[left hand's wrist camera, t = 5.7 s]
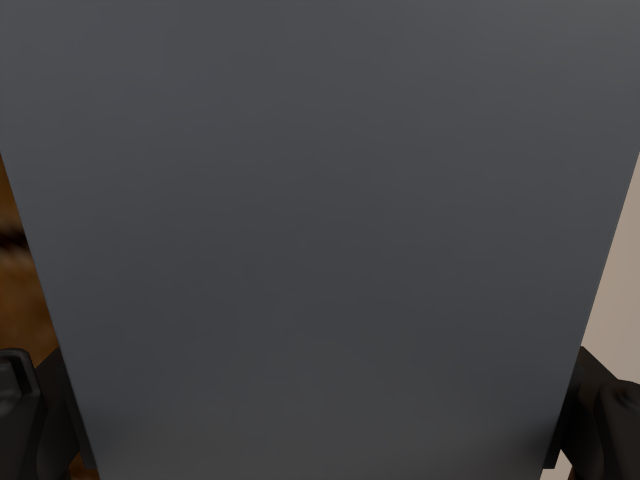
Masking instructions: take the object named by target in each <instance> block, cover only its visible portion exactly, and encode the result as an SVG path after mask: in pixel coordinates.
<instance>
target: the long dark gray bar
mask: <svg viewBox="0 0 640 480" xmlns="http://www.w3.org/2000/svg"><path fill="white" fill-rule="evenodd" d="M639 152H640V0H0V153H1V156H2V159H3V163H4V166H5V169H6V172H7V176H8V179H9V182H10V186H11V189H12V192H13V195H14V199H15V202H16V205H17V208H18V212H19V215H20V218H21V222H22V225H23V228H24V231H25V235H26V238H27V241H28V245H29V248H30V251H31V254H32V258H33V261H34V264H35V267H36V271H37V274H38V277H39V281H40V284H41V287H42V290H43V294H44V297H45V300H46V304H47V307H48V310H49V313H50V317H51V320H52V323H53V327H54V330H55V333H56V336H57V340H58V343H59V346H60V349H61V353H62V356H63V359H64V363H65V366H66V369H67V372H68V376H69V379H70V382H71V386H72V389H73V392H74V395H75V399H76V402H77V405H78V408H79V412H80V415H81V418H82V422H83V425H84V428H85V431H86V435H87V438H88V441H89V445H90V448H91V451H92V454H93V458H94V461H95V464H96V468H97V471H98V474H99V477H100V480H540V477H541V473H542V470H543V467H544V464H545V460H546V457H547V454H548V451H549V447H550V444H551V441H552V437H553V434H554V431H555V428H556V424H557V421H558V418H559V415H560V411H561V408H562V405H563V401H564V398H565V395H566V392H567V388H568V385H569V382H570V378H571V375H572V372H573V369H574V365H575V362H576V359H577V355H578V352H579V349H580V346H581V342H582V339H583V336H584V332H585V329H586V326H587V323H588V319H589V316H590V313H591V310H592V306H593V303H594V300H595V296H596V293H597V290H598V287H599V283H600V280H601V277H602V273H603V270H604V267H605V264H606V260H607V257H608V254H609V250H610V247H611V244H612V241H613V237H614V234H615V231H616V227H617V224H618V221H619V218H620V214H621V211H622V208H623V205H624V201H625V198H626V194H627V191H628V188H629V185H630V182H631V178H632V175H633V172H634V168H635V165H636V162H637V159H638V155H639Z"/></svg>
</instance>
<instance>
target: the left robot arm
mask: <svg viewBox="0 0 640 480" xmlns="http://www.w3.org/2000/svg"><path fill="white" fill-rule="evenodd" d="M560 450H562V451H563V453H564V454H565V455H566V457H567V458H568V460H569V461H570V463H571V464H572V468H571V471H570V474H569V477H568V480H640V384H637V383H634V382H631V381H625V380H619V379H617V378H616V377H615V376H614V375H613V374H612V373H611V372H610V371H609V370H607V369H606V368H605V367H604V366H603V365H602V364H601V363H600V362H599V361H598V360H597V359H596V358H595V357H594V356H593V355H592V354H591V353H590V352H588V351H587V350H586V349H585V348H584V347H583V346H580V349H579V352H578V355H577V359H576V362H575V365H574V369H573V372H572V375H571V378H570V382H569V385H568V388H567V392H566V395H565V398H564V401H563V405H562V408H561V411H560V415H559V418H558V421H557V424H556V428H555V431H554V434H553V437H552V441H551V444H550V447H549V451H548V454H547V457H546V460H545V464H544V467H543V469H554V468H555V465H556V462H557V459H558V456H559V453H560ZM78 451H80V454H81V457H82V460H83V463H84V466H85V469H97V468H96V464H95V461H94V458H93V454H92V451H91V448H90V445H89V441H88V438H87V435H86V431H85V428H84V425H83V422H82V418H81V415H80V412H79V408H78V405H77V402H76V399H75V395H74V392H73V389H72V386H71V382H70V379H69V376H68V372H67V369H66V366H65V363H64V359H63V356H62V353H61V349H60V347H59V348H56V349H55V350H54V351H53V352H52V353H51V354H50V355H49V356H48V357H47V358H46V359H45V360H44V361H43V362H42V363H41V364H40V365H38V366H37V367H36V368H35V369H34V366H33V363H32V360H31V358H30V355H29V353H28V352H27V351H25V350H24V349H20V348H6V349H0V480H71V474H70V471H69V468H68V466H69V465H70V463H71V462H72V460H73V459H74V457H75V456H76V454H77V453H78Z"/></svg>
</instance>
